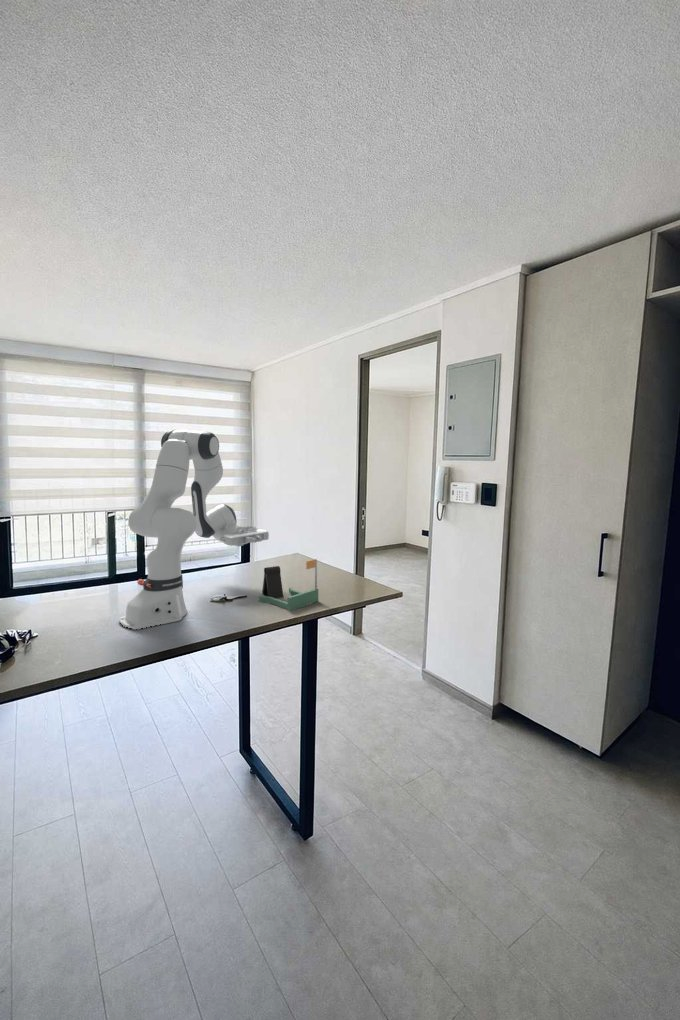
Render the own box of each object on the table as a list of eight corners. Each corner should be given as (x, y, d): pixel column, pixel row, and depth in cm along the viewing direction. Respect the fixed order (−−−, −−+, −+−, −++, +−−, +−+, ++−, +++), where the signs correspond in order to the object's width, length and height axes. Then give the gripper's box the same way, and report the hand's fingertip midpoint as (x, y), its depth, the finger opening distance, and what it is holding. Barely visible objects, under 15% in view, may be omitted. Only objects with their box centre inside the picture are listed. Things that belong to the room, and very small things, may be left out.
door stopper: (283, 597, 181) (283, 568, 179) (269, 599, 178) (268, 570, 176) (275, 591, 188) (275, 563, 187) (262, 593, 186) (261, 565, 184)
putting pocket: (287, 611, 164) (286, 566, 162) (257, 601, 176) (257, 559, 174) (320, 600, 177) (320, 558, 175) (290, 591, 188) (290, 552, 186)
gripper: (217, 531, 188) (236, 535, 178) (256, 526, 203) (276, 529, 193) (217, 546, 188) (237, 551, 179) (257, 539, 203) (276, 543, 194)
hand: (257, 540), depth 186 cm, fingers closed
